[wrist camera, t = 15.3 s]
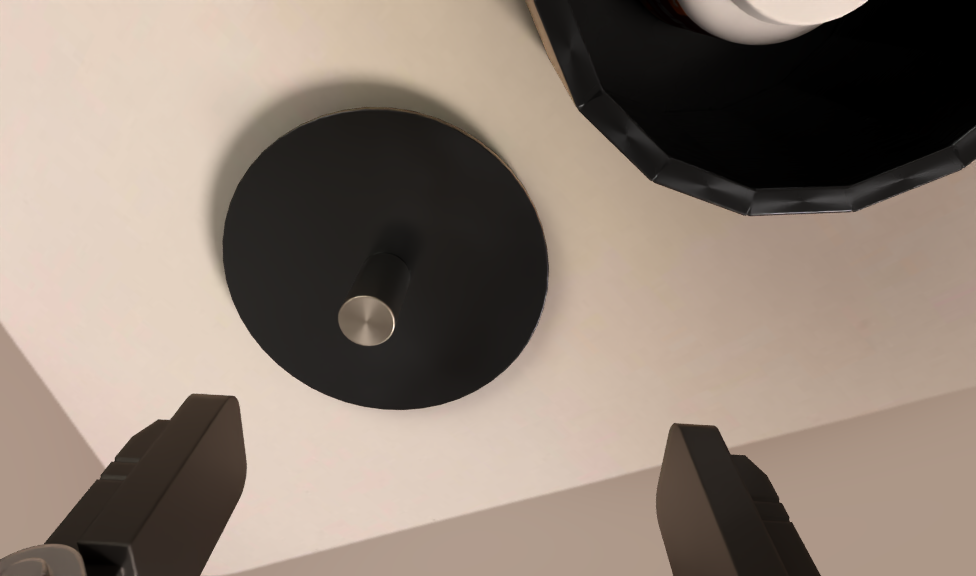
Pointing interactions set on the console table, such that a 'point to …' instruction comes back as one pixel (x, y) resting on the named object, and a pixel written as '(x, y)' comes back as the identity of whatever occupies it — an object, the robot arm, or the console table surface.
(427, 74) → the console table surface
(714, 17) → the pill bottle
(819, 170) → the trash can
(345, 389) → the bin lid
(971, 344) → the console table surface
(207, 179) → the console table surface
